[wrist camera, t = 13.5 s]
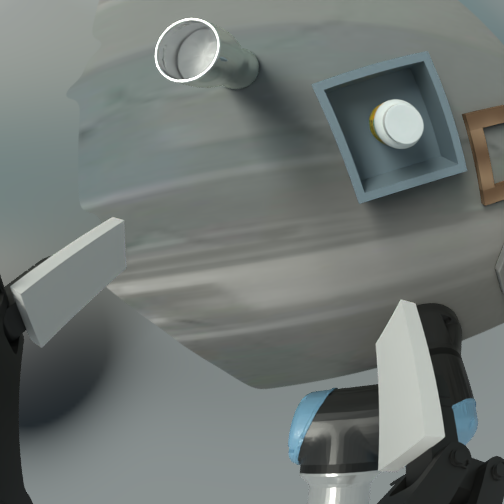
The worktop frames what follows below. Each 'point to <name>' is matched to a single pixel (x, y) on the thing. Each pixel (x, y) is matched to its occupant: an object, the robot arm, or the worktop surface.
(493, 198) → the socket frame
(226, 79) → the beer glass
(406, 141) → the supplement bottle
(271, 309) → the worktop surface
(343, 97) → the bin
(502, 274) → the tankard
